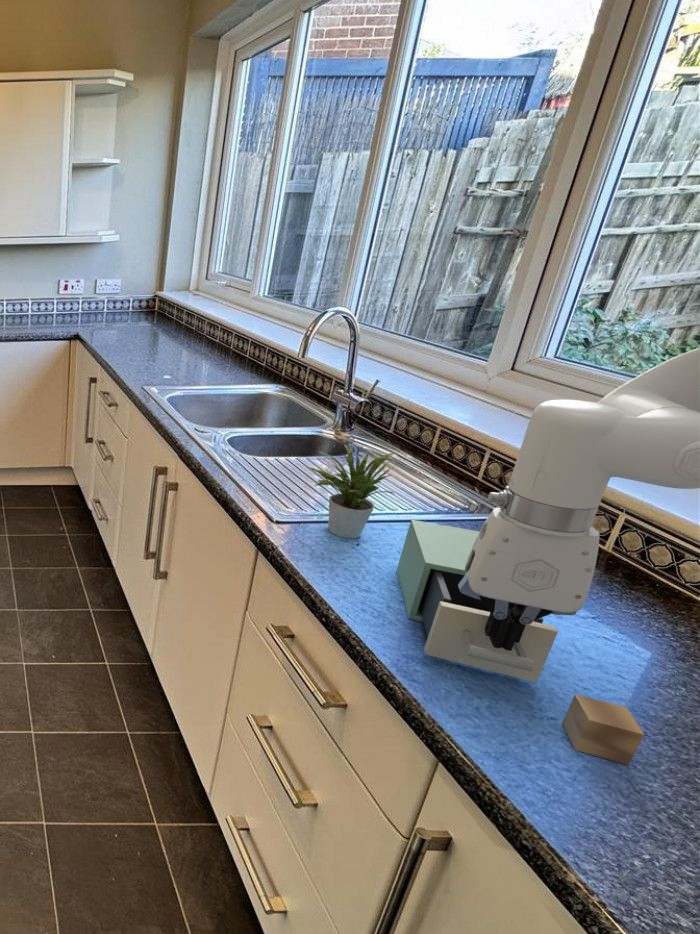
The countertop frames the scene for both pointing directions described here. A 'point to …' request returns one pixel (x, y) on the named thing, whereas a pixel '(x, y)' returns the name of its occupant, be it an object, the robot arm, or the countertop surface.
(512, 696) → the countertop surface
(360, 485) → the house plant
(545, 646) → the beige cabinet drawer
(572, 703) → the block
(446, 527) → the green drawer box
